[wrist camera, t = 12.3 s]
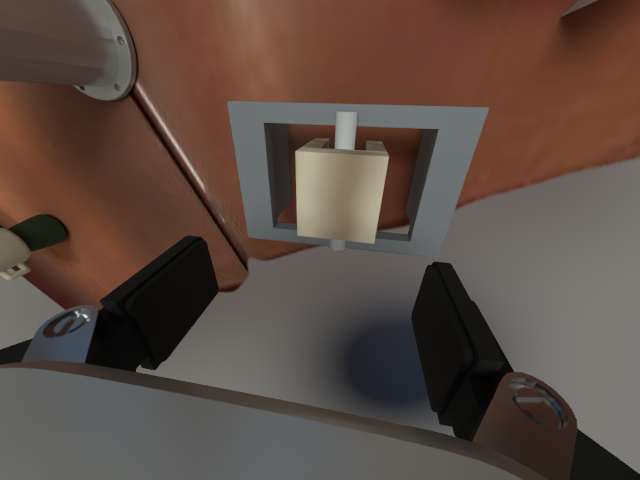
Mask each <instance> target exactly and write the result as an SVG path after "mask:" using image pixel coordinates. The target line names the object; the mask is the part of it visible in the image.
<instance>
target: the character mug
mask: <svg viewBox="0 0 640 480" xmlns="http://www.w3.org/2000/svg"><path fill="white" fill-rule="evenodd" d="M65 239H66V234H65V231H64V229H63V227H62V225H61V224H60V223H59V222H58V221H56V220H55V219H53V218H51V217H49V216H47V215H42V214H40V215H36V216H34V217H31V218H29V219H27V220H25V221H23V222H20V223H18V224H16V225H14V226H12V227H10V228H9V229H8V230H7V229H5V228H0V275H1V276H2V277H4V278H5V279H7V280H13V279H16V278H18V277H20V276H22V275H24V274H26V273H28V272H29V271H30V270H31V269H30V268H29V267H28V266H27V265H26V264H25V263H23V262H25V261H26V260H27V259H28V258H29V257H30V255H31V254H30V251H35V250H39V249H42V248H45V247H48V246H52V245H55V244H57V243H60V242H63V241H64V240H65ZM14 266H18V267H19V268H20V269H21V270H19V271H17V272H15V273H12V274H10V273H9V272H8V271H6V270H7V269H9V268H12V267H14Z"/></svg>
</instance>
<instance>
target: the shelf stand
mask: <svg viewBox="0 0 640 480" xmlns="http://www.w3.org/2000/svg"><path fill="white" fill-rule="evenodd" d="M227 103H228V110H229V116H230V122H231V129H232V135H233V142H234V148H235V155H236V161H237V167H238V174H239V180H240V187H241V193H242V200H243V206H244V212H245V219H246V225H247V232H248V237H249V238H258V239H268V240H277V241H286V242H295V243H304V244H314V245H323V246H330V249H331V250H333V251H343V250H344V249H345V248H351V249H360V250H369V251H379V252H388V253H397V254H406V255H415V256H424V257H434V258H438V257H439V254H440V251H441V248H442V245H443V243H444V239H445V237H446V234H447V231H448V228H449V225H450V222H451V219H452V216H453V213H454V210H455V207H456V204H457V201H458V198H459V195H460V192H461V190H462V187H463V184H464V181H465V178H466V175H467V172H468V169H469V166H470V163H471V160H472V157H473V154H474V151H475V148H476V145H477V142H478V139H479V136H480V134H481V131H482V128H483V125H484V122H485V119H486V116H487V113H488V110H489V107H449V106H408V105H367V104H326V103H286V102H245V101H227ZM288 124H314V125H336V129H335V149H348V150H354V148H355V137H356V126H368V127H394V128H421V129H423V133H422V138H421V142H420V147H419V151H418V156H417V160H416V164H415V169H414V173H413V178H412V182H411V187H410V191H409V196H408V200H407V205H406V209H405V211H406V213H407V216H408V219H409V221H410V228H409V232H408V235H407V234H396V233H386V232H376V236H375V242H374V244H371V243H362V242H352V241H343V240H334V239H324V238H315V237H306V236H297V224H294V223H283V222H278V219H277V218H278V217H279V215H280V214H281V213H282V212H283V210H284V209H285V208H286V207H287V205H288V204H289V203H290V201H291V185H290V162H289V139H288Z"/></svg>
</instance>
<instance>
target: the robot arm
mask: <svg viewBox="0 0 640 480" xmlns="http://www.w3.org/2000/svg"><path fill="white" fill-rule="evenodd" d="M136 67H137V63H136V55H135V49H134V46H133V42H132V38H131V36H130V33H129V31H128V28H127V26H126V24H125V22H124V20H123V18H122V17H121V15H120V13H119V11H118V10H117V8H116V7H115V6H114V4H113V3H112V1H111V0H0V81H14V82H29V83H45V84H60V85H73V86H74V87H75V88H77V89H78V90H79V91H81V92H82V93H84V94H86V95H88V96H89V97H92V98H95V99H98V100H104V101H115V100H119V99H122V98H123V97H125V96H126V95H127V94H128V93H129V92H130V91H131V89H132V87H133V85H134V83H135V78H136ZM217 293H218V283H217V280H216V276H215V272H214V268H213V265H212V261H211V257H210V254H209V250H208V246H207V243H206V242H205V241H204V240H203V239H202V238H201V237H196V236H186V237H184V238H183V239H181V240H180V241H179V242H177V243H176V244H175V245H173V246H172V247H171V248H169V249H168V250H167V251H165V252H164V253H163V254H161V255H160V256H159V257H157V258H156V259H155V260H153V261H152V262H151V263H149V264H148V265H147V266H145V267H144V268H143V269H141V270H140V271H139V272H137V273H136V274H135V275H133V276H132V277H131V278H129V279H128V280H127V281H125V282H124V283H123V284H121V285H120V286H119V287H117V288H116V289H115V290H113V291H112V292H111V293H109V294H108V295H107V296H105V297H104V298H103V299H101V300H100V302H101V304H102V305H103V307H104V308H103V309H101V310H100V311H99V310H98V309H97V308H96V307H95V306H91V305H83V306H78V307H74V308H71V309H68V310H65V311H63V312H61V313H59V314H57V315H55V316H54V317H52V318H50V319H49V320H47V321H46V322H45V323H44V324H43V325H42V326H40V328H39V329H38V331H37V332H36V334H35V335H34V337H33V339H30V340H27V341H24V342H21V343H18V344H16V345H12V346H10V347H7V348H4V349H1V350H0V480H640V474H638V473H637V472H636V471H634V470H633V469H632V468H630V467H629V466H628V465H626V464H625V463H624V462H622V461H620V460H619V459H618V458H617V457H615V456H614V455H613V454H611V453H610V452H608V451H607V450H606V449H604V448H603V447H602V446H600V445H599V444H598V443H596V442H595V441H593V440H592V439H591V438H589V437H588V436H586V435H585V434H584V433H582V432H581V431H580V430H578V428H577V420H576V418H575V415H574V413H573V411H572V409H571V408H570V406H569V405H568V404H567V402H566V401H565V400H564V399H563V398H562V397H561V396H560V395H559V394H558V393H557V392H556V391H555V390H554V389H553V388H551V387H550V386H548V385H547V384H546V383H544V382H543V381H541V380H539V379H537V378H535V377H533V376H531V375H528V374H524V373H521V372H514V371H513V369H512V367H511V366H510V364H509V362H508V360H507V358H506V357H505V355H504V353H503V351H502V350H501V348H500V346H499V344H498V342H497V340H496V339H495V337H494V335H493V333H492V332H491V330H490V328H489V326H488V325H487V323H486V321H485V319H484V317H483V316H482V314H481V312H480V310H479V308H478V307H477V305H476V304H475V302H474V301H472V300H471V299H470V297H469V296H468V294H467V292H466V290H465V288H464V287H463V285H462V283H461V281H460V279H459V277H458V276H457V274H456V272H455V270H454V268H453V266H452V265H451V264H450V263H442V262H433V263H432V265H428V266H427V268H426V271H425V274H424V277H423V280H422V283H421V286H420V289H419V293H418V296H417V299H416V302H415V305H414V308H413V312H412V325H413V329H414V334H415V338H416V342H417V347H418V352H419V356H420V361H421V365H422V370H423V374H424V379H425V383H426V388H427V392H428V397H429V401H430V406H431V409H432V411H433V412H437V414H438V419H439V423H440V424H442V425H447V426H452V427H453V431H454V434H455V436H456V437H453V436H449V435H446V434H442V433H438V432H434V431H430V430H426V429H421V428H416V427H412V426H407V425H402V424H398V423H393V422H389V421H384V420H379V419H375V418H370V417H365V416H360V415H355V414H350V413H344V412H340V411H335V410H330V409H324V408H320V407H315V406H309V405H304V404H300V403H295V402H289V401H284V400H279V399H274V398H269V397H264V396H259V395H253V394H248V393H243V392H238V391H232V390H227V389H222V388H217V387H212V386H207V385H201V384H196V383H191V382H185V381H180V380H175V379H169V378H164V377H158V376H153V375H148V374H142V373H137V372H136V368H137V367H138V366H139V365H141V367H142V368H146V369H151V370H156V369H157V368H158V366H159V365H160V364H161V362H163V361H165V360H167V358H168V357H169V356H170V355H171V353H172V352H173V350H174V349H175V348H176V347H177V346H178V344H179V343H180V342H181V340H182V339H183V338H184V336H185V335H186V334H187V333H188V331H189V330H190V329H191V327H192V326H193V325H194V323H195V322H196V321H197V319H198V318H199V317H200V316H201V314H202V313H203V312H204V310H205V309H206V308H207V306H208V305H209V304H210V302H211V301H212V300H213V299H214V297H215V296H216V295H217Z"/></svg>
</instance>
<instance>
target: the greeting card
mask: <svg viewBox="0 0 640 480" xmlns="http://www.w3.org/2000/svg"><path fill="white" fill-rule="evenodd" d="M596 1H598V0H578V1H577V2H576V3H575V4H574V5H573V6H572V7H571V8H569V9H568V10H567V11H566V12H565V13H564V14H563V15H562V16H565V15H567V14H569V13H571V12H574V11H576V10H578V9H580V8H582V7H585V6H587V5H589V4H591V3H594V2H596ZM562 16H561V17H562Z"/></svg>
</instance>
